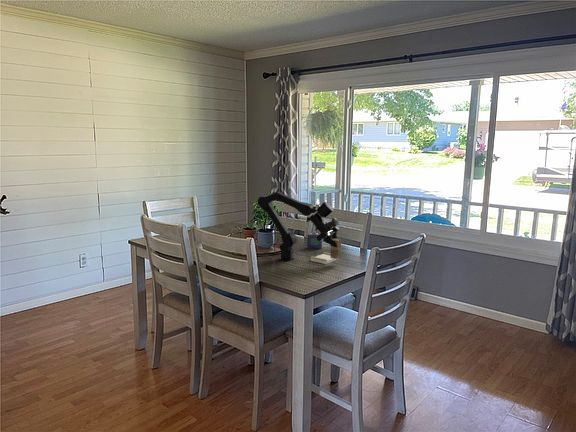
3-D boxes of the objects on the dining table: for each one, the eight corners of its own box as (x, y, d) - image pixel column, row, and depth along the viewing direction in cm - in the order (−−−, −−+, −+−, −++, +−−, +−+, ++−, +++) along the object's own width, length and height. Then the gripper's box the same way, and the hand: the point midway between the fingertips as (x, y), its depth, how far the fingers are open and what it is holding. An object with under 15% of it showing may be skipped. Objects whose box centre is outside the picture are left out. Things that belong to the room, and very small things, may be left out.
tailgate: (325, 264, 232) (325, 259, 232) (309, 260, 239) (309, 256, 238) (338, 258, 242) (338, 254, 242) (322, 255, 249) (322, 251, 248)
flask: (322, 247, 266) (322, 230, 264) (322, 249, 263) (322, 232, 261) (307, 247, 267) (307, 230, 265) (307, 249, 264) (307, 231, 262)
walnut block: (337, 259, 227) (338, 240, 225) (330, 258, 229) (330, 239, 227) (340, 257, 230) (340, 239, 228) (333, 256, 232) (333, 238, 230)
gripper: (322, 216, 219) (342, 240, 216) (336, 211, 235) (355, 233, 232) (308, 230, 224) (327, 253, 221) (323, 223, 240) (340, 245, 237)
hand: (338, 245), depth 228 cm, fingers closed on walnut block, 4 cm apart
